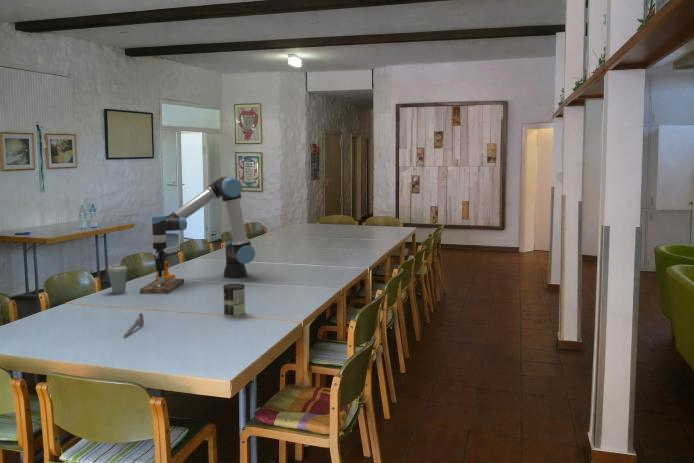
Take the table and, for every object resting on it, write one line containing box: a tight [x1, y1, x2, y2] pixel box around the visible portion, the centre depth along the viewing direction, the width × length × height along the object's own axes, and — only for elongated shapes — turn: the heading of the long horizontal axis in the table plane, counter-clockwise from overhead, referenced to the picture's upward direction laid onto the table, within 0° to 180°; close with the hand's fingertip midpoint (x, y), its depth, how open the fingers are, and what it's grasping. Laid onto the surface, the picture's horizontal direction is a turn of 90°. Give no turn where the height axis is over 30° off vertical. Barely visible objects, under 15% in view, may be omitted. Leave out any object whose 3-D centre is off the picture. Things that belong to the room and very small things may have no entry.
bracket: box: [155, 260, 176, 280], centre depth 375 cm, size 11×7×12 cm, turn 162°
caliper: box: [122, 312, 145, 339], centre depth 262 cm, size 20×1×6 cm, turn 178°
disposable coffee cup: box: [107, 264, 128, 295], centre depth 339 cm, size 11×11×15 cm
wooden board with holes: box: [139, 278, 185, 295], centre depth 352 cm, size 16×30×2 cm, turn 179°
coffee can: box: [222, 283, 246, 318], centre depth 290 cm, size 10×10×14 cm
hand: (161, 281), depth 349 cm, fingers closed
